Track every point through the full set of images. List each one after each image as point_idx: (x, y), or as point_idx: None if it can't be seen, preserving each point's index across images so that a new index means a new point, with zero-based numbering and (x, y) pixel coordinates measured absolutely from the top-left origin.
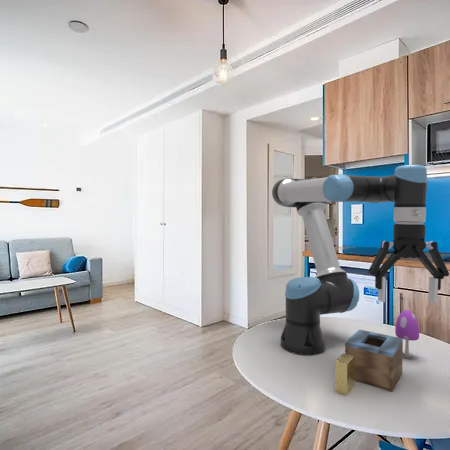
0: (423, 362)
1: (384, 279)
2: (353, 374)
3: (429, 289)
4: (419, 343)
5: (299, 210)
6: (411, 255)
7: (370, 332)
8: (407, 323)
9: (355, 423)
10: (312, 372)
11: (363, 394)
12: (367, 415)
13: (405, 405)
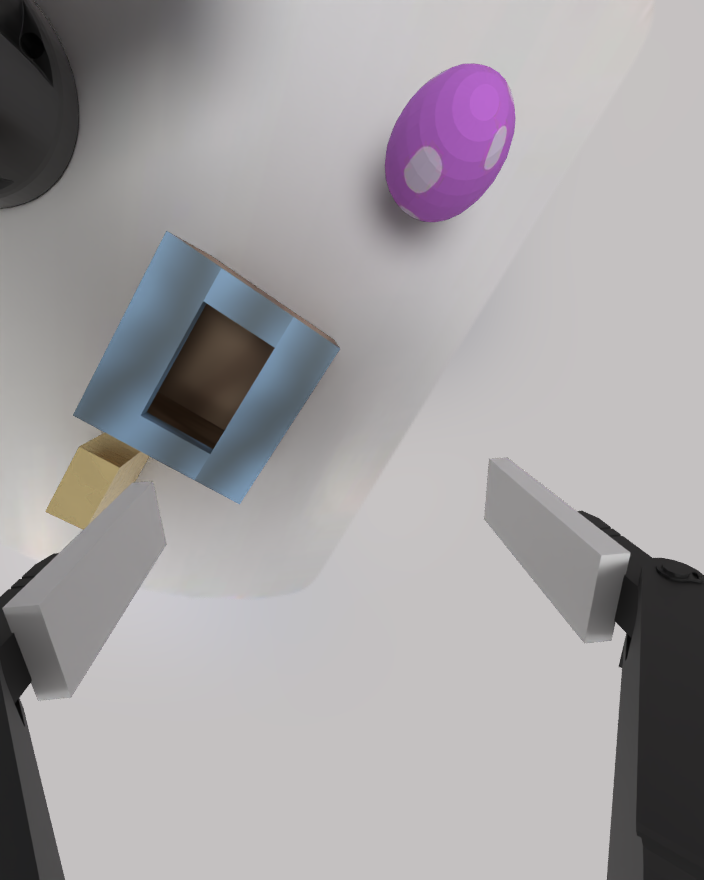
0: (446, 247)
1: (64, 687)
2: (140, 456)
3: (527, 502)
4: (546, 18)
5: None
6: None
7: (214, 278)
8: (435, 190)
9: None
10: (30, 363)
11: (177, 476)
12: (167, 558)
13: (269, 512)
